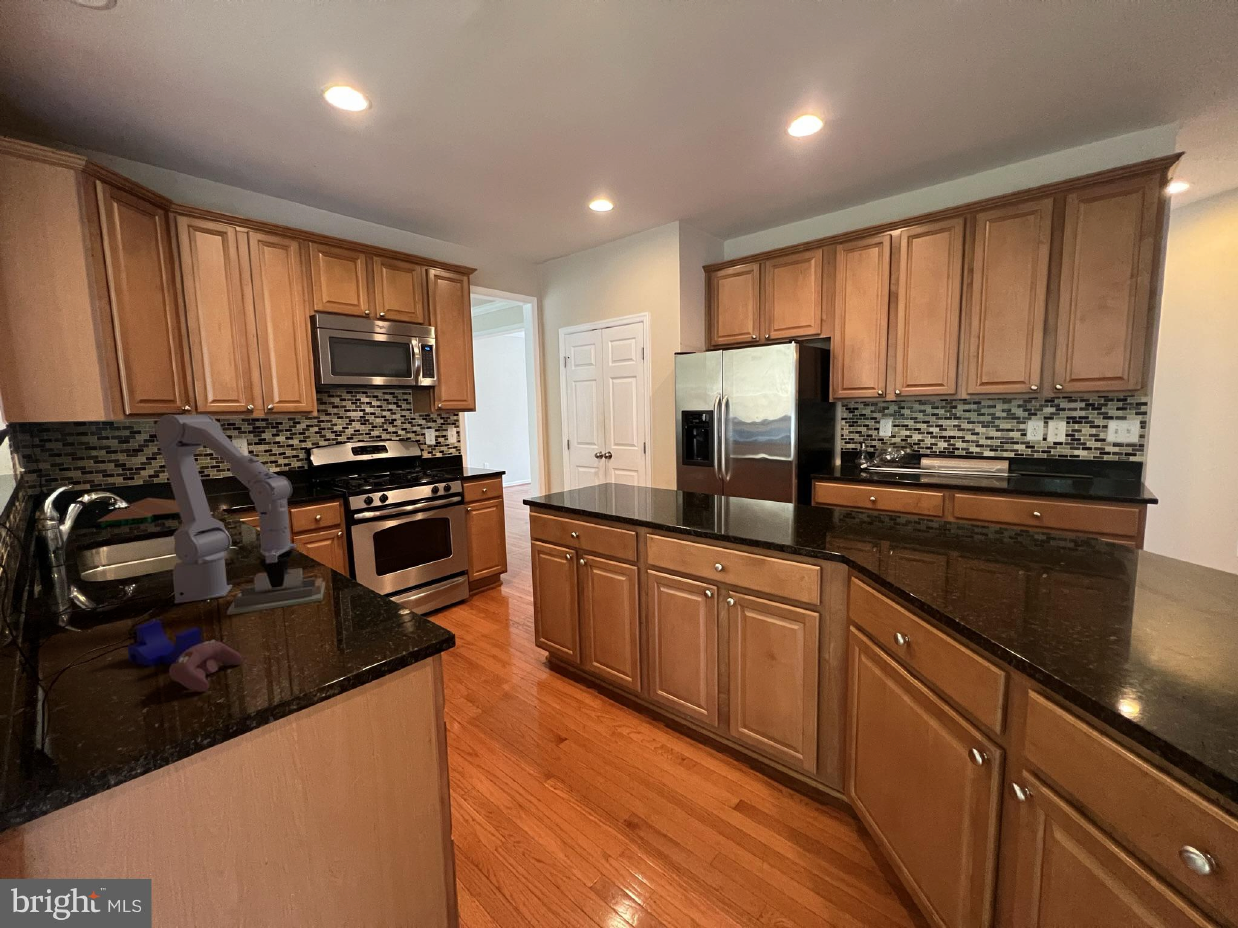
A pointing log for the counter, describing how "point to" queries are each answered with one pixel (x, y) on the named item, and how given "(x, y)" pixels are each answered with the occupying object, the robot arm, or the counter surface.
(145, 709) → the counter surface
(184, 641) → the cable clip
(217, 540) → the robot arm
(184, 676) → the video game controller
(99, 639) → the counter surface
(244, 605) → the drive tray
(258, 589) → the block
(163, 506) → the house
